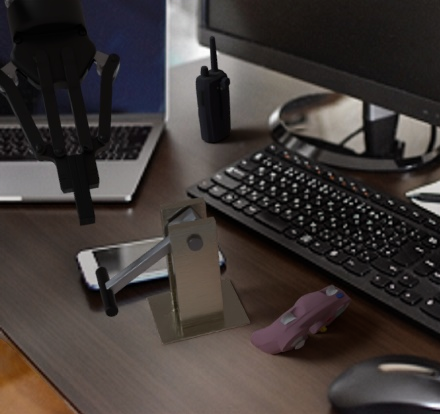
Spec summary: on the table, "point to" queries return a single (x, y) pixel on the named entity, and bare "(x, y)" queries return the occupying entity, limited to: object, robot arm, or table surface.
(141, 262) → the lever
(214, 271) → the bracket
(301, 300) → the pink toy race car
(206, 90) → the two-way radio
